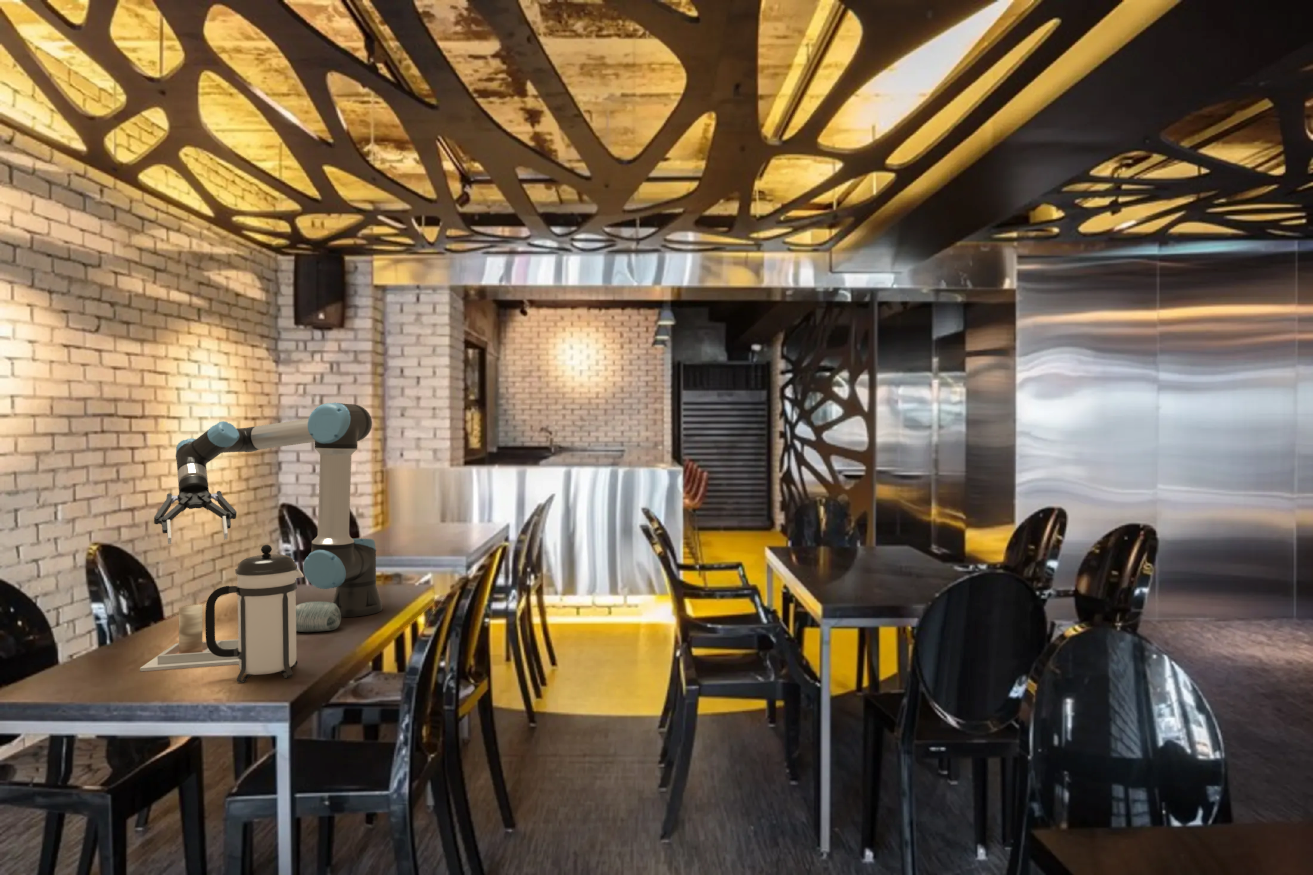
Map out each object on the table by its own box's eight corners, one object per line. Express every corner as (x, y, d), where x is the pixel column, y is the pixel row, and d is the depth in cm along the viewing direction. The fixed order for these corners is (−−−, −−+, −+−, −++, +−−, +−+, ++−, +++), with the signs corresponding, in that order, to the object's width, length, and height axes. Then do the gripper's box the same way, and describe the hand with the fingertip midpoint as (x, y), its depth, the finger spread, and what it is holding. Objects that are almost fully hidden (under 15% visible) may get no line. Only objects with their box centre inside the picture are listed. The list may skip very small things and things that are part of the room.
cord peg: (205, 651, 196) (205, 603, 197) (198, 656, 192) (198, 607, 192) (183, 653, 195) (183, 605, 196) (175, 658, 191) (175, 608, 191)
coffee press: (275, 660, 191) (274, 538, 191) (317, 670, 183) (315, 542, 183) (204, 680, 176) (202, 547, 176) (245, 691, 168) (244, 552, 168)
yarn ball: (350, 613, 227) (335, 587, 222) (340, 636, 218) (324, 609, 214) (307, 624, 228) (290, 598, 223) (295, 647, 219) (278, 621, 215)
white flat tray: (276, 645, 205) (276, 634, 205) (260, 662, 190) (260, 651, 190) (166, 653, 199) (165, 642, 199) (140, 671, 184) (139, 659, 184)
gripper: (239, 488, 239) (247, 542, 227) (142, 493, 225) (144, 551, 213) (241, 472, 235) (249, 526, 223) (142, 476, 221) (144, 534, 209)
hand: (198, 538), depth 218 cm, fingers open, 13 cm apart
